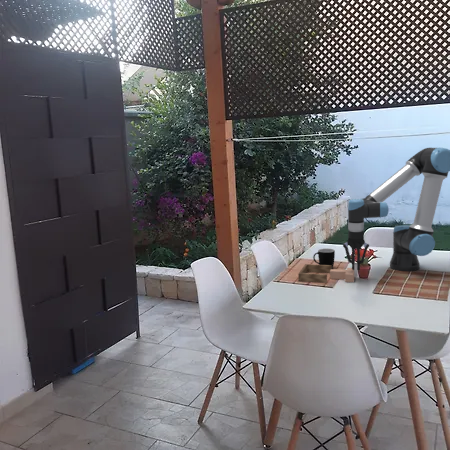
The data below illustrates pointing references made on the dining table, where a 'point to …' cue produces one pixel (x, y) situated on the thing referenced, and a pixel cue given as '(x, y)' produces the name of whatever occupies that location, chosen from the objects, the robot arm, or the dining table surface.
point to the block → (342, 274)
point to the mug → (325, 256)
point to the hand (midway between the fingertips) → (355, 276)
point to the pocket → (314, 277)
